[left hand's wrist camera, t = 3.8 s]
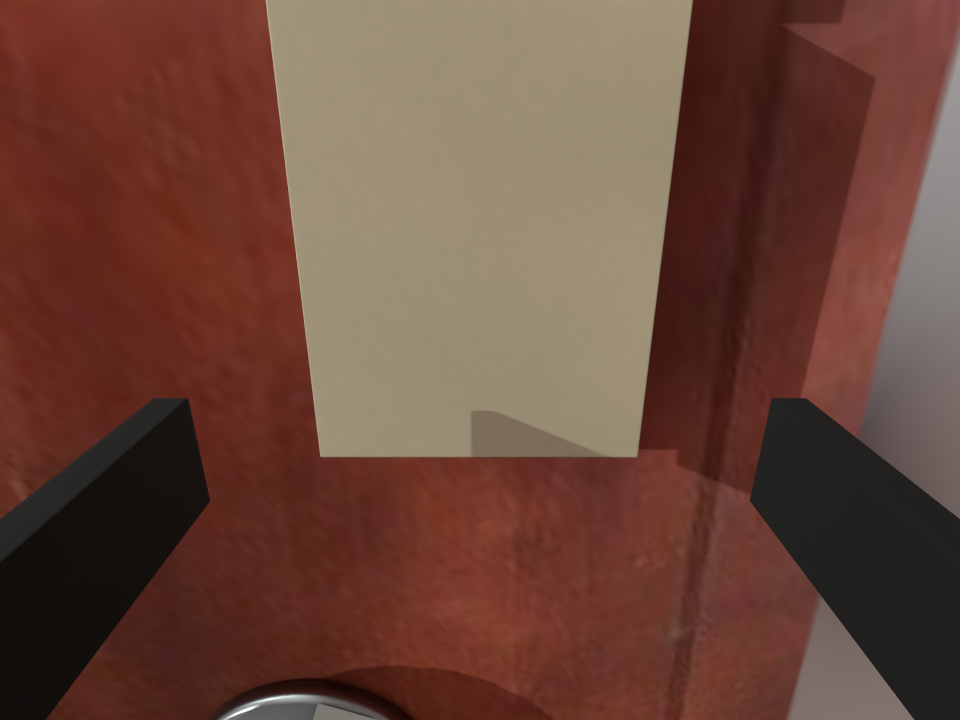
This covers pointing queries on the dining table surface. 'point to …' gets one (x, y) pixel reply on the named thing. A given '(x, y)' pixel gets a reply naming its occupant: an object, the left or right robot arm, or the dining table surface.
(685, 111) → the dining table surface
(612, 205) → the cream rectangular box
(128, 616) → the dining table surface
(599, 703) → the dining table surface
